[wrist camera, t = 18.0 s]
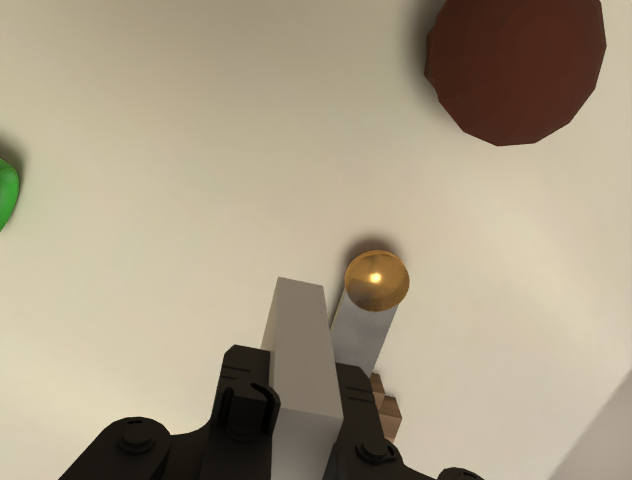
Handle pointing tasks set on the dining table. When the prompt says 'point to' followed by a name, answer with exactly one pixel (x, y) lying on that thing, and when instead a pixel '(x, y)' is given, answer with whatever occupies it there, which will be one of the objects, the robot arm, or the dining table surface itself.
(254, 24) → the dining table surface
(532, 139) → the muffin
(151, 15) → the dining table surface
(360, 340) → the bar
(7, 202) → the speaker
